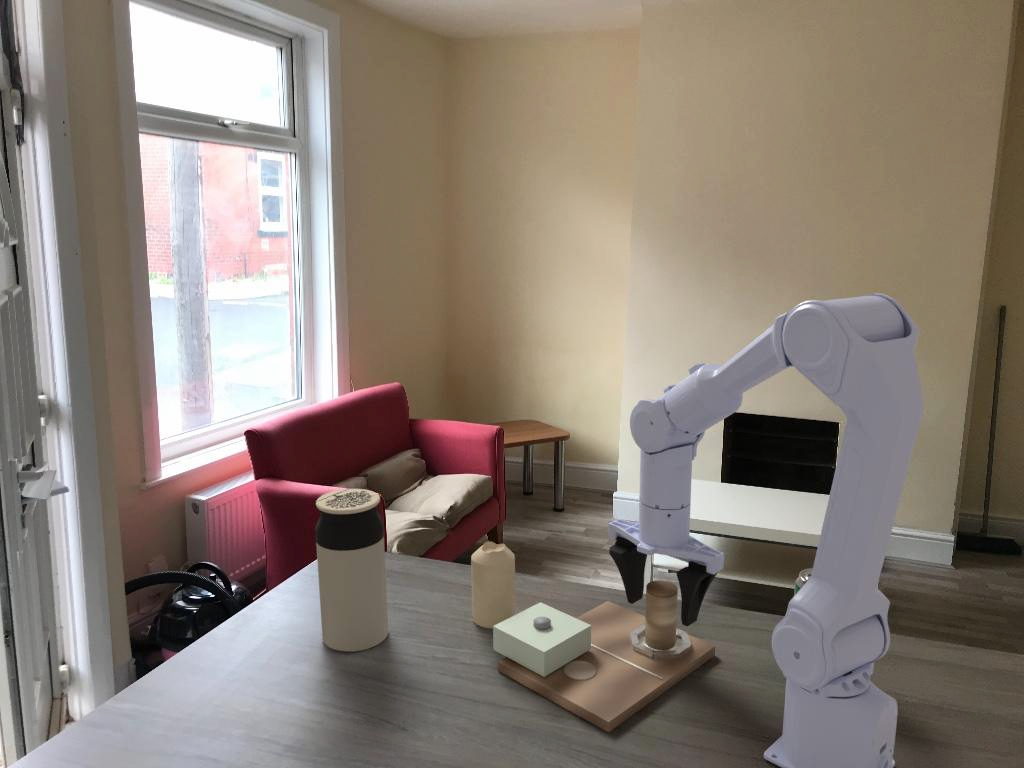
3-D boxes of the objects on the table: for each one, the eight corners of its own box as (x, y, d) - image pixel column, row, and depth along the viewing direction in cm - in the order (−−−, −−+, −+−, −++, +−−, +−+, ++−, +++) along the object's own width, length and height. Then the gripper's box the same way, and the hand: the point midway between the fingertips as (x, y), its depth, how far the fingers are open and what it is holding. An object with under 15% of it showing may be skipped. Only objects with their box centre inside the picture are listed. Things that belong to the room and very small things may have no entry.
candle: (466, 613, 107) (464, 541, 104) (504, 604, 109) (503, 534, 107) (482, 633, 102) (481, 558, 100) (522, 623, 104) (522, 550, 102)
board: (715, 655, 96) (715, 644, 96) (608, 732, 83) (608, 720, 82) (607, 609, 107) (607, 599, 107) (497, 670, 94) (497, 659, 93)
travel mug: (401, 635, 101) (395, 498, 97) (348, 661, 96) (339, 516, 92) (362, 614, 107) (355, 482, 103) (309, 637, 101) (300, 499, 97)
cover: (590, 648, 95) (591, 620, 94) (544, 676, 90) (544, 647, 89) (540, 624, 101) (540, 597, 100) (493, 649, 95) (493, 621, 94)
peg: (681, 641, 97) (683, 587, 95) (664, 653, 94) (666, 597, 93) (656, 630, 99) (658, 577, 98) (638, 642, 97) (640, 587, 95)
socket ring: (700, 642, 97) (701, 638, 97) (667, 665, 92) (667, 661, 92) (653, 622, 101) (653, 618, 101) (619, 643, 97) (619, 639, 97)
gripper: (592, 494, 95) (591, 602, 98) (701, 527, 85) (696, 646, 88) (629, 480, 100) (627, 583, 103) (736, 509, 90) (730, 623, 93)
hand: (661, 611), depth 96 cm, fingers open, 7 cm apart
